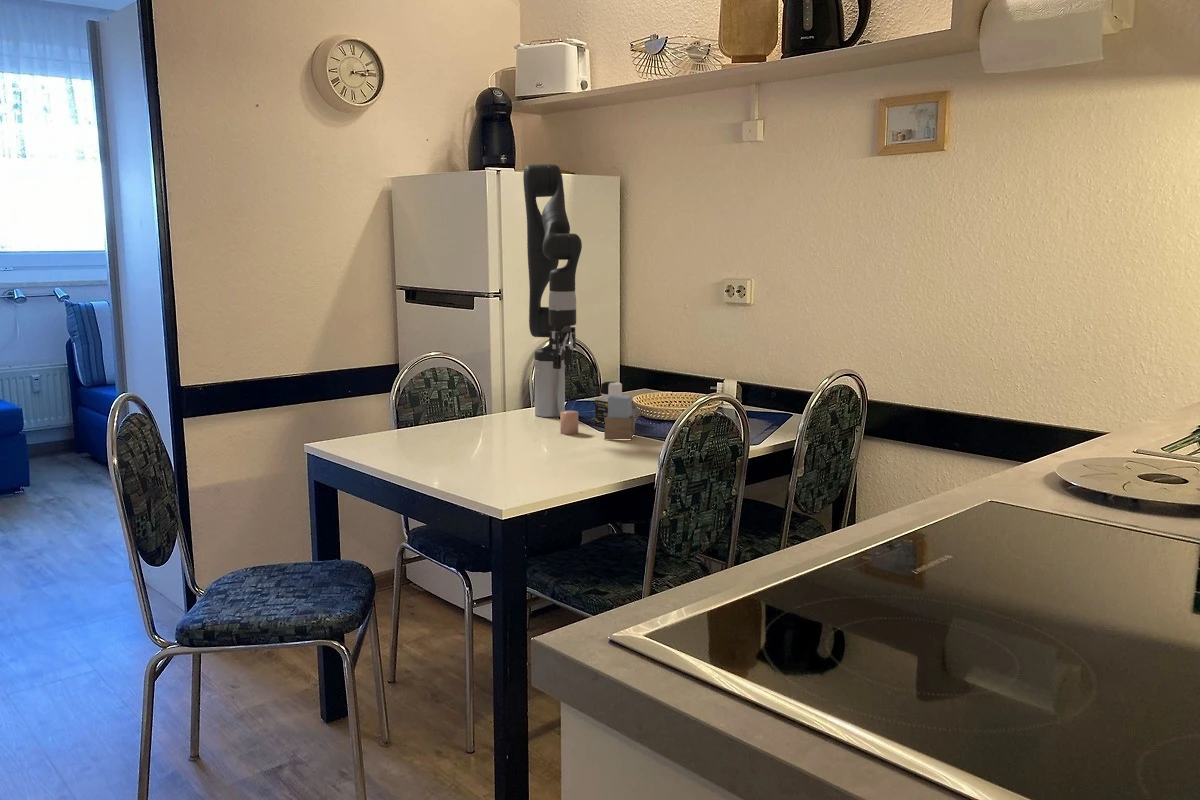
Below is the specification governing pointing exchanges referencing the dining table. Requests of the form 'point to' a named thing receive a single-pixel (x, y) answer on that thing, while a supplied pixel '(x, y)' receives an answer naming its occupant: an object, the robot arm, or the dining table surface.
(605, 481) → the dining table surface
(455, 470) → the dining table surface
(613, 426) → the walnut block
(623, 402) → the grey block
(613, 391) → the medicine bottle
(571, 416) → the terracotta cylinder
